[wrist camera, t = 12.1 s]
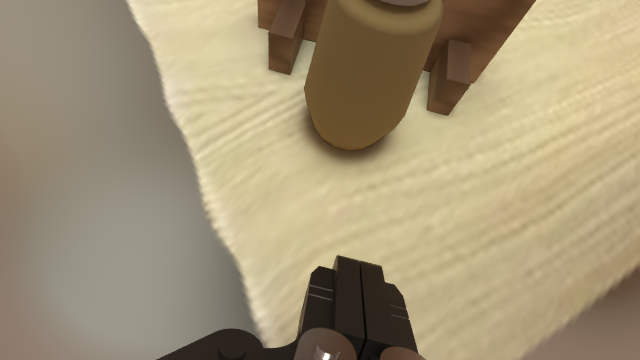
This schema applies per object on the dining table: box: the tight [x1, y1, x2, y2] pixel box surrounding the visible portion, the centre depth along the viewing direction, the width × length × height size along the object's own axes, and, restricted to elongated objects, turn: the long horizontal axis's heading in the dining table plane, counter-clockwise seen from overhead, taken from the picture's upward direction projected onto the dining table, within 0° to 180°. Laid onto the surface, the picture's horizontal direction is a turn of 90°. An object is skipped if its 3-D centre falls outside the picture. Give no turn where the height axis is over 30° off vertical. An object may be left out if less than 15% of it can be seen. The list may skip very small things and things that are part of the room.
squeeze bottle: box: [304, 0, 444, 150], centre depth 21 cm, size 8×8×18 cm
